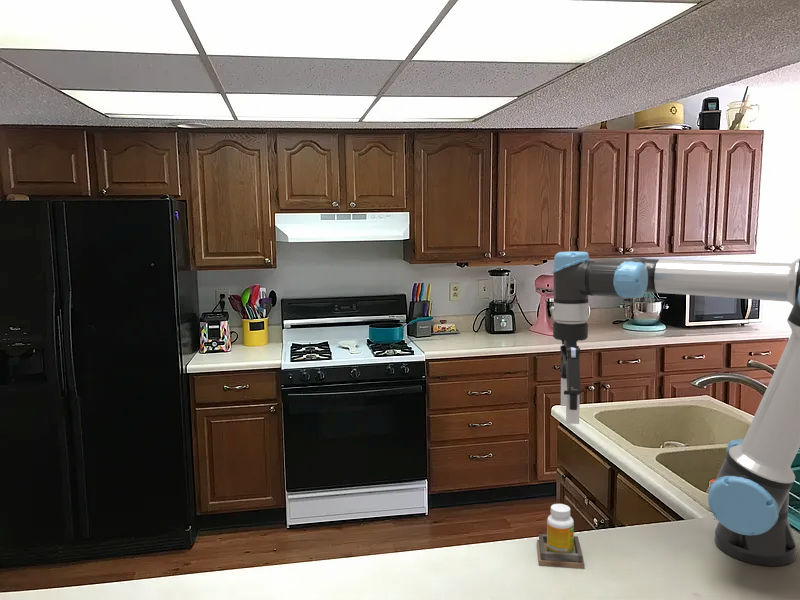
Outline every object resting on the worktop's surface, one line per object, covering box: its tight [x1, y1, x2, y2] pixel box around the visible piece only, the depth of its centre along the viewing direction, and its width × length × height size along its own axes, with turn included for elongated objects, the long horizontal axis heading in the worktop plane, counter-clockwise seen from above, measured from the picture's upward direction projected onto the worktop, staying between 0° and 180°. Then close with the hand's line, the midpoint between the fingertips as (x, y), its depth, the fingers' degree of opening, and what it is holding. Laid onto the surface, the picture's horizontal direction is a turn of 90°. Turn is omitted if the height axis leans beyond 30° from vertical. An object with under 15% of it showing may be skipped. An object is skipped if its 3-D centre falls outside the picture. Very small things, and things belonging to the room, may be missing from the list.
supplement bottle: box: [546, 503, 575, 553], centre depth 133 cm, size 5×5×10 cm
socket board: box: [536, 533, 585, 569], centre depth 133 cm, size 9×9×2 cm
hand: (569, 414), depth 143 cm, fingers open, 13 cm apart
